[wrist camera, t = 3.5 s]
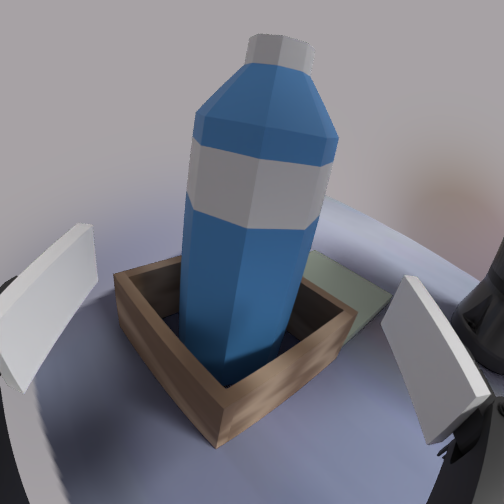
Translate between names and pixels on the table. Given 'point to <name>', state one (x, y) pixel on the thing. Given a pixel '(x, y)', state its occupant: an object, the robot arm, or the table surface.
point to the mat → (346, 289)
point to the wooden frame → (198, 377)
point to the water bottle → (252, 207)
